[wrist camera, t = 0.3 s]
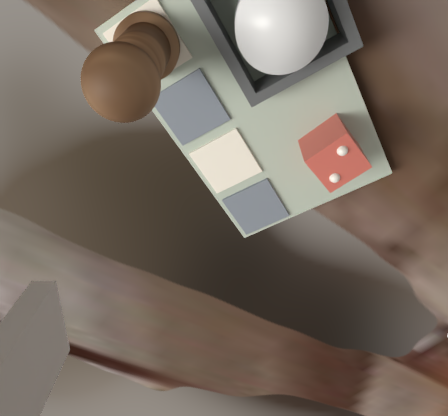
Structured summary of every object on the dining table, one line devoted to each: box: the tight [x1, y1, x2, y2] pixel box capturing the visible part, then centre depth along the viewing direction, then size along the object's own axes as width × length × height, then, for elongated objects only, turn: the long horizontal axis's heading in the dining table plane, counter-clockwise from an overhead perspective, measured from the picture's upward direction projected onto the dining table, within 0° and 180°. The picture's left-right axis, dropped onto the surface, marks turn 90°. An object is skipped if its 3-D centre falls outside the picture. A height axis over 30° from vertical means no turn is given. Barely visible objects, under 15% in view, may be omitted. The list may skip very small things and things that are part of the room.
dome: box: [235, 0, 329, 75], centre depth 27 cm, size 6×6×4 cm
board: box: [94, 0, 392, 238], centre depth 33 cm, size 17×24×4 cm
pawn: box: [81, 10, 180, 123], centre depth 26 cm, size 5×5×11 cm
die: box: [298, 113, 372, 193], centre depth 34 cm, size 4×4×4 cm
